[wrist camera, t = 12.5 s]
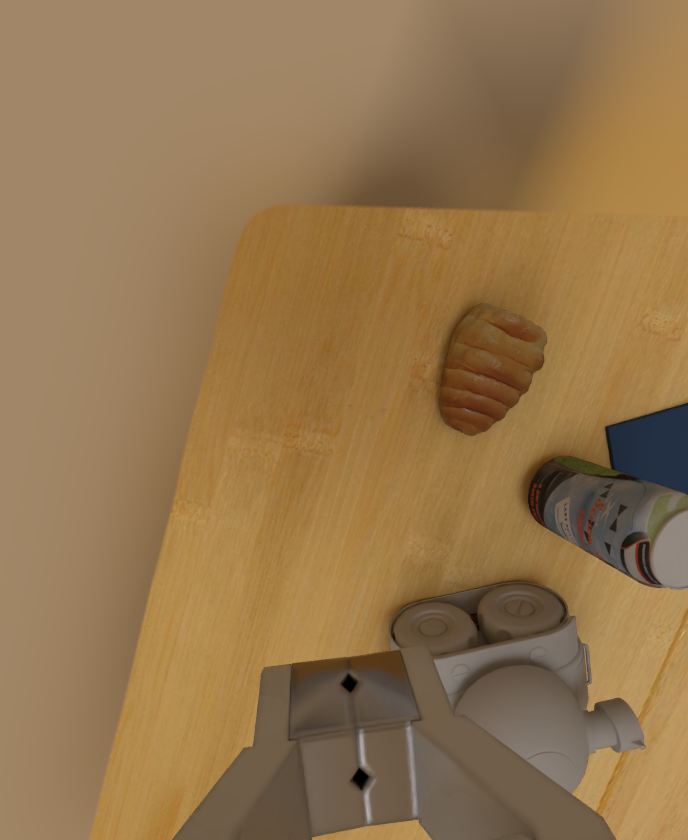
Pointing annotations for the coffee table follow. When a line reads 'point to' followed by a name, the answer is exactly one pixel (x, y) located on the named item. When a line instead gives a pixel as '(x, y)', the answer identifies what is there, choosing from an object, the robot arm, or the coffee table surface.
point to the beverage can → (615, 519)
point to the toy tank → (519, 674)
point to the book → (653, 447)
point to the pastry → (488, 367)
